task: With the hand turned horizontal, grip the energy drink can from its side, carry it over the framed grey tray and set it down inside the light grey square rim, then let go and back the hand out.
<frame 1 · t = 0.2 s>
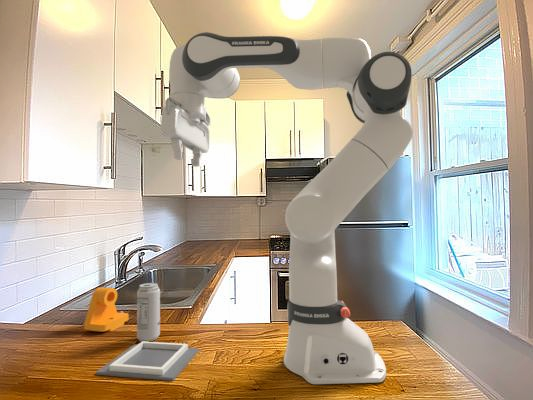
hand: (187, 163, 77), 48 cm above the counter, tool pointing down, fingers open, 8 cm apart
energy drink can: (148, 339, 84), on the counter
bracket: (108, 327, 94), on the counter
framed grey tray: (151, 361, 71), on the counter
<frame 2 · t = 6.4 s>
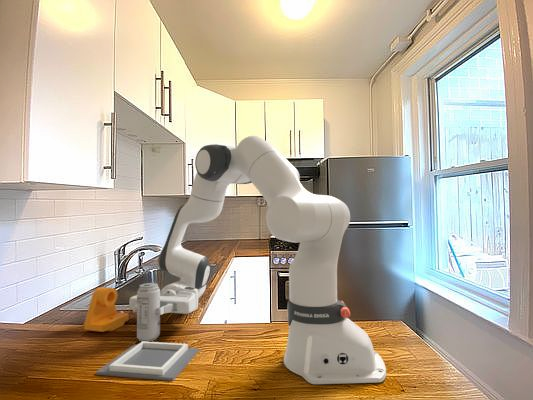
hand: (146, 310, 84), 8 cm above the counter, tool horizontal, fingers closed on energy drink can, 6 cm apart
energy drink can: (148, 339, 84), on the counter, touching gripper
everything else where it was.
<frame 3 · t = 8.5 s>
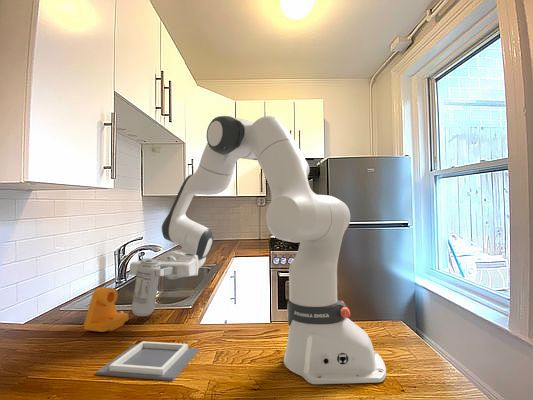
hand: (147, 272, 84), 19 cm above the counter, tool horizontal, fingers closed on energy drink can, 6 cm apart
energy drink can: (142, 313, 86), point 7 cm above the counter, touching gripper
everything else where it was.
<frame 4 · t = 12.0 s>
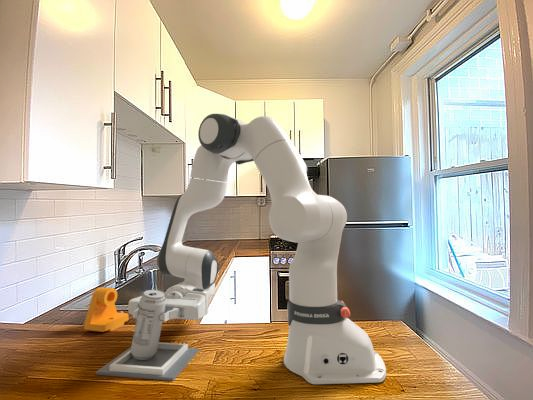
hand: (148, 316, 71), 11 cm above the counter, tool horizontal, fingers closed on energy drink can, 6 cm apart
energy drink can: (143, 354, 72), point 1 cm above the counter, touching framed grey tray, gripper
everything else where it was.
when the fingers open (10 cm above the counter, at t = 12.8 s): energy drink can stays where it is, resting on framed grey tray.
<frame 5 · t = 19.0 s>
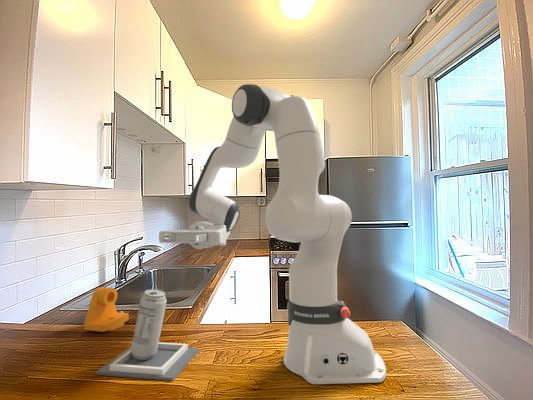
hand: (178, 238, 84), 28 cm above the counter, tool horizontal, fingers open, 8 cm apart
energy drink can: (143, 354, 72), point 1 cm above the counter, touching framed grey tray
everything else where it was.
at the end: energy drink can 2.8 cm off-centre on the framed grey tray, point 1.0 cm above the framed grey tray's base; energy drink can tilted 12°; the gripper is holding nothing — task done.
